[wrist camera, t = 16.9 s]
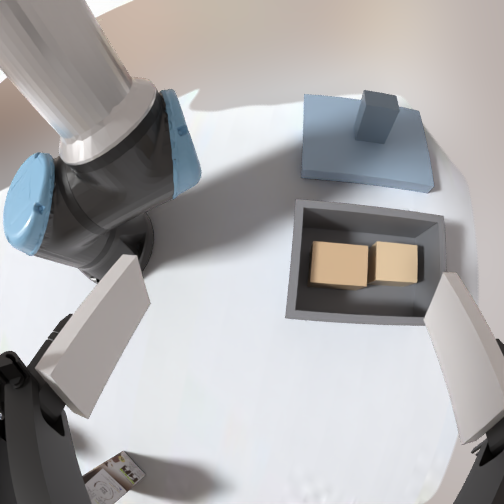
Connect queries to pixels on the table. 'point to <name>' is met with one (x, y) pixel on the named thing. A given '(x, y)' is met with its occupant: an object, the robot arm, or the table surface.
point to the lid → (365, 142)
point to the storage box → (364, 263)
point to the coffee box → (112, 479)
